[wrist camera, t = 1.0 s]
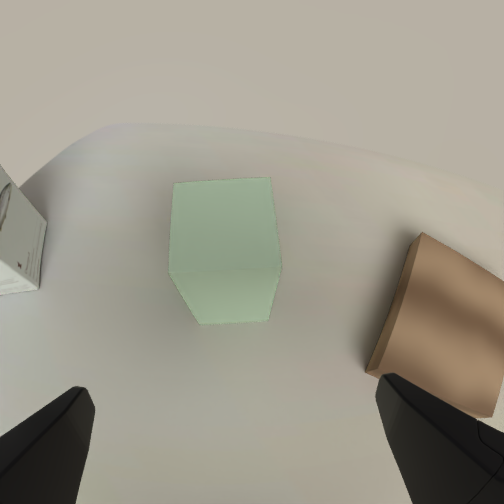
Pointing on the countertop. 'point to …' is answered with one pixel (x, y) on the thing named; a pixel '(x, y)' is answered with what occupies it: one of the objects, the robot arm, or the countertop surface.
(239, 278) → the sage block
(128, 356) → the countertop surface
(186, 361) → the countertop surface
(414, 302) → the walnut plinth
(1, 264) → the supplement box
